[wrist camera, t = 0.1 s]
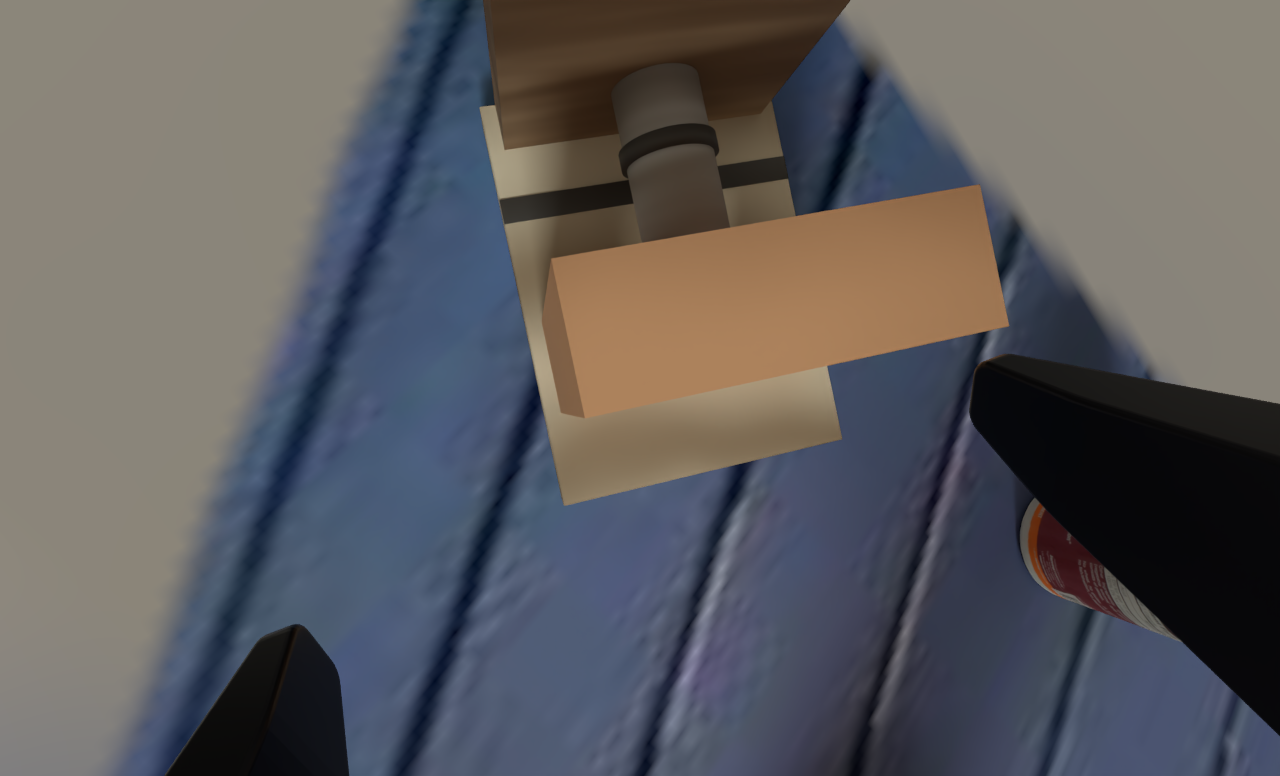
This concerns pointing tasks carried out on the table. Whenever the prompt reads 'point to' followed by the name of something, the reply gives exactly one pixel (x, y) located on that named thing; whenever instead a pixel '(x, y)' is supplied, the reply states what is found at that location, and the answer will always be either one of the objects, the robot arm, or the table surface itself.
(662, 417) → the pipe board
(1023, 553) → the pill bottle
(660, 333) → the wooden board
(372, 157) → the table surface
